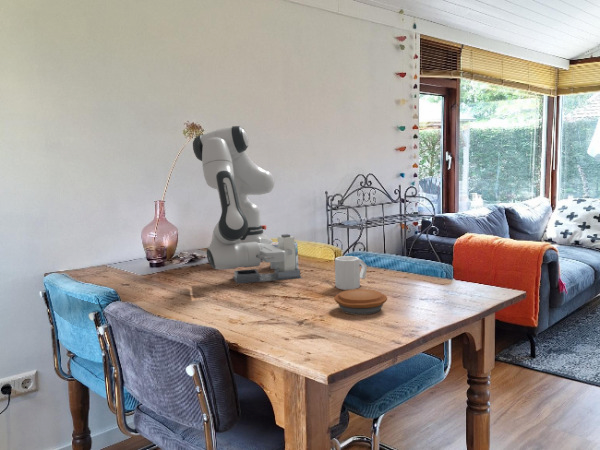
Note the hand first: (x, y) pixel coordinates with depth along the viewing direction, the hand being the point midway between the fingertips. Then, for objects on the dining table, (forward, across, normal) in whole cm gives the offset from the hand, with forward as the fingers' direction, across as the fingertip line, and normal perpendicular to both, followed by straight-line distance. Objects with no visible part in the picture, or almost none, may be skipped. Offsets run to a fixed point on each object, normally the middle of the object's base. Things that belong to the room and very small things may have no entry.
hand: (288, 250), depth 208 cm
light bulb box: (+4, +15, +11) cm, 19 cm away
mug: (+15, -22, +10) cm, 28 cm away
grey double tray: (-8, +1, +10) cm, 13 cm away
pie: (+4, -49, +11) cm, 50 cm away
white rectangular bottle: (-1, 0, +8) cm, 8 cm away
